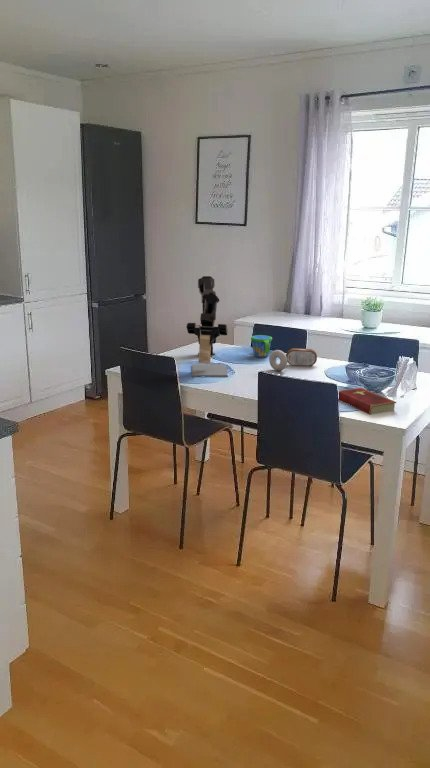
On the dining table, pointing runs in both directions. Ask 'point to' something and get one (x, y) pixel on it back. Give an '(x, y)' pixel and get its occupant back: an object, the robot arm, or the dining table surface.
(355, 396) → the hardcover book
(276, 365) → the donut
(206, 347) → the wooden block
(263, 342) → the snack cup
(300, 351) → the tin
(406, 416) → the dining table surface
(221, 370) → the slate mat
